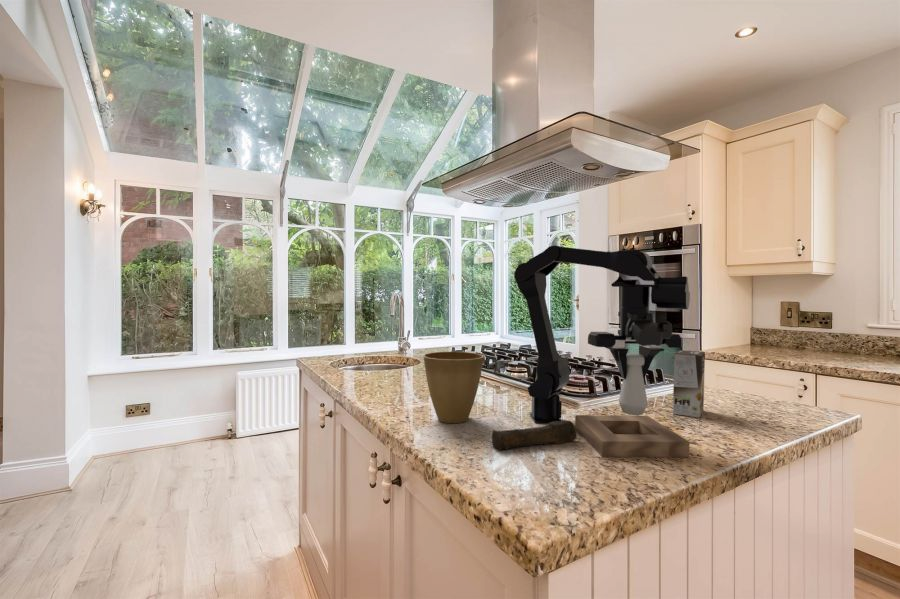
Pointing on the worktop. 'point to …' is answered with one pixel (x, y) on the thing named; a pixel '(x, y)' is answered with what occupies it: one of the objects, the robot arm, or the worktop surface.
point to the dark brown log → (535, 435)
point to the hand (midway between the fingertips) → (633, 378)
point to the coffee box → (688, 383)
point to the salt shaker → (633, 386)
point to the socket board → (630, 436)
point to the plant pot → (453, 383)
